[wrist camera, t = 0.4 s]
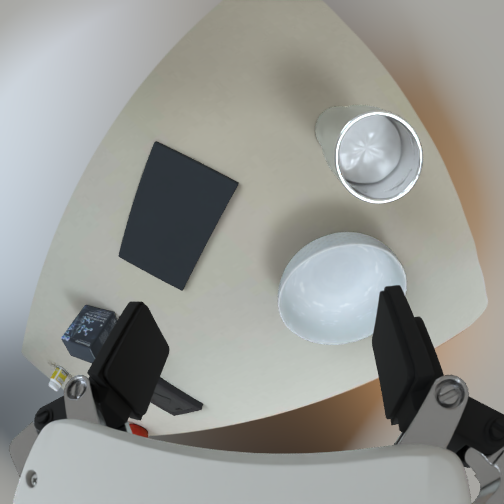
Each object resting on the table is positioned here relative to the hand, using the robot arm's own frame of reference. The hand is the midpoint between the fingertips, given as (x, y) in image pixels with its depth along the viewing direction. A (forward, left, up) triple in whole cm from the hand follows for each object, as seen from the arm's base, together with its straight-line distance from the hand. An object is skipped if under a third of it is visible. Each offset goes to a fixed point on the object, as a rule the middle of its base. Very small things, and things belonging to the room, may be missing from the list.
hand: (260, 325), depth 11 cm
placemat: (+15, -9, -25) cm, 31 cm away
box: (+44, -16, -26) cm, 53 cm away
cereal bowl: (+9, +15, -26) cm, 31 cm away
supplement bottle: (+91, -30, -26) cm, 99 cm away
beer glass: (-7, +4, -26) cm, 27 cm away
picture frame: (+65, +4, -26) cm, 70 cm away
